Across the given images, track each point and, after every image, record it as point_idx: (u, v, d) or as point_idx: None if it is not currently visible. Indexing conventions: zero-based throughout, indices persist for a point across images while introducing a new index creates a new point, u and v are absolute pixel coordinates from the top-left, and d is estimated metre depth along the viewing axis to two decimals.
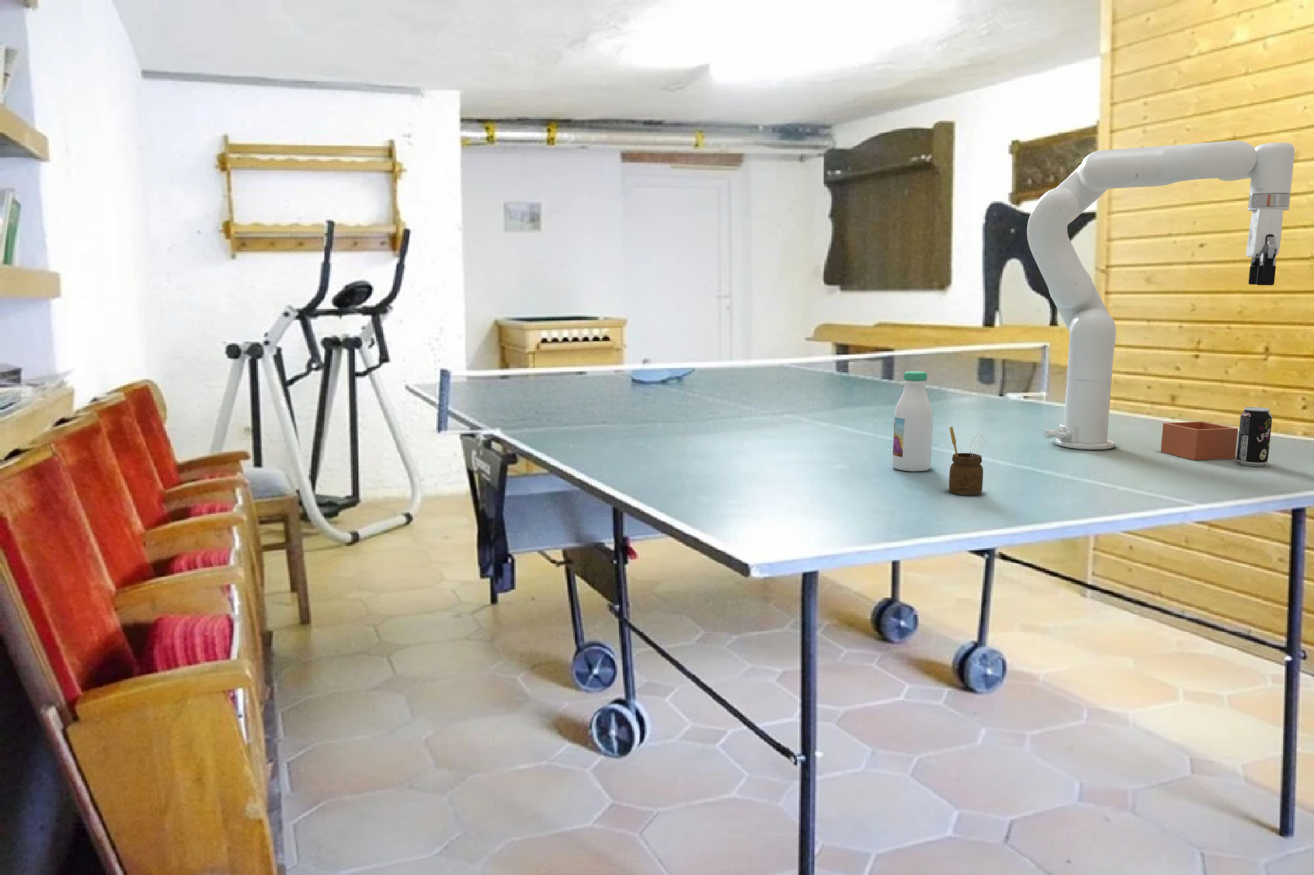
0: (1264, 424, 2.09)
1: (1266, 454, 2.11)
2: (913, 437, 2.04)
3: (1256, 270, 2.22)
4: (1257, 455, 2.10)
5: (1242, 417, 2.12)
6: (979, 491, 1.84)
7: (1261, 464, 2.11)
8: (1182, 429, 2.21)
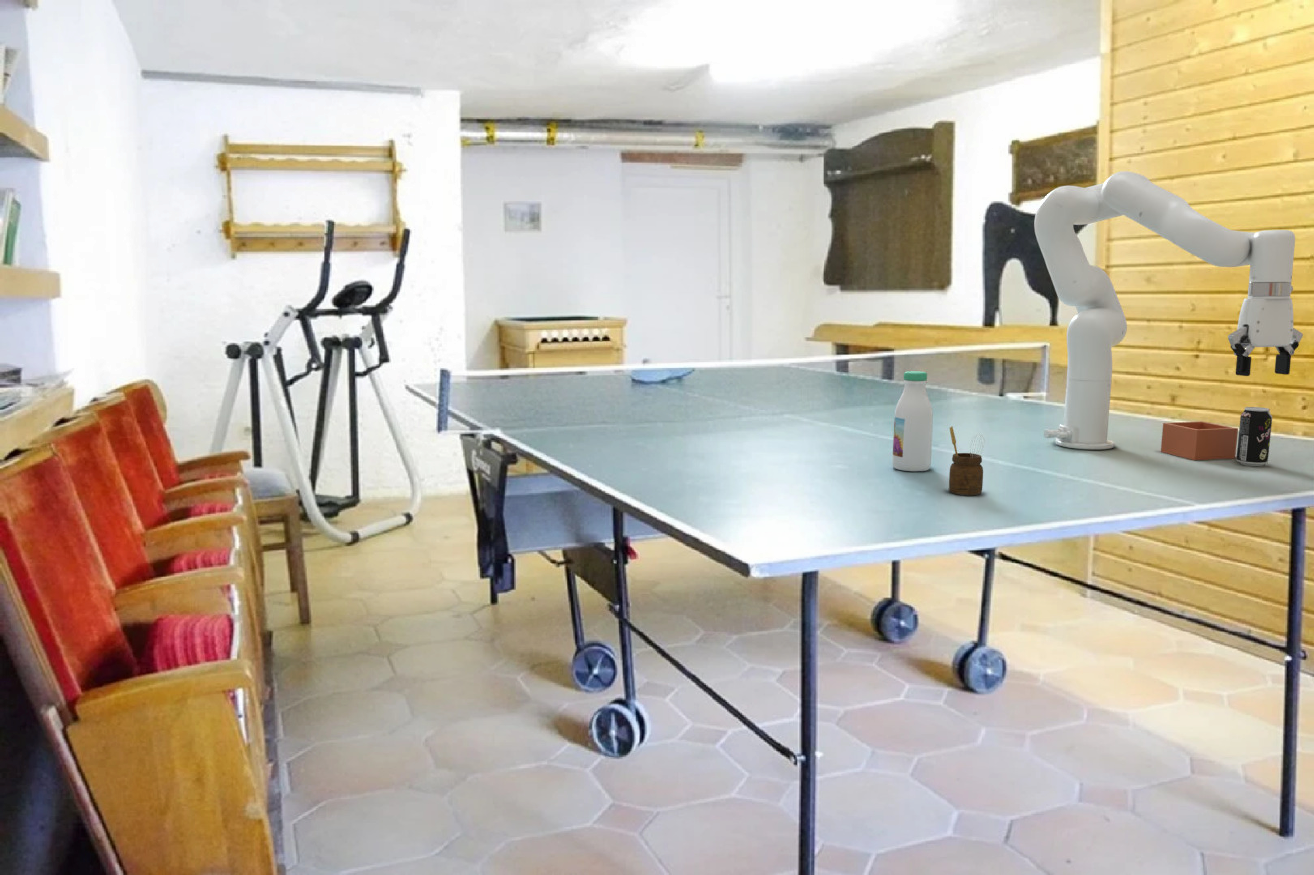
0: (1264, 424, 2.09)
1: (1266, 454, 2.11)
2: (913, 437, 2.04)
3: (1280, 359, 2.11)
4: (1257, 455, 2.10)
5: (1242, 417, 2.12)
6: (979, 491, 1.84)
7: (1261, 464, 2.11)
8: (1182, 429, 2.21)
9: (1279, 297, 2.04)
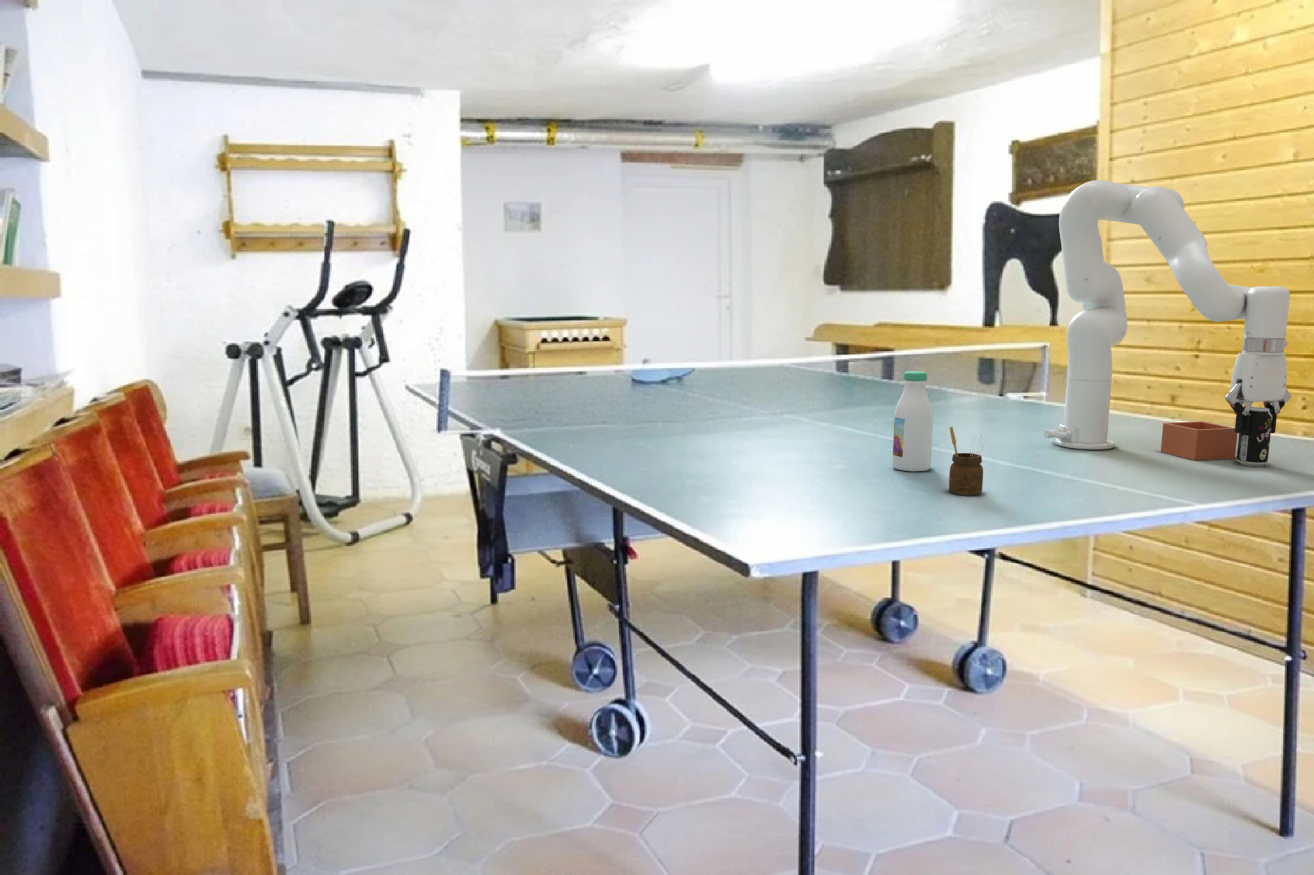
0: (1264, 424, 2.09)
1: (1266, 454, 2.11)
2: (913, 437, 2.04)
3: None
4: (1257, 455, 2.10)
5: None
6: (979, 491, 1.84)
7: (1261, 464, 2.11)
8: (1182, 429, 2.21)
9: (1273, 353, 2.06)
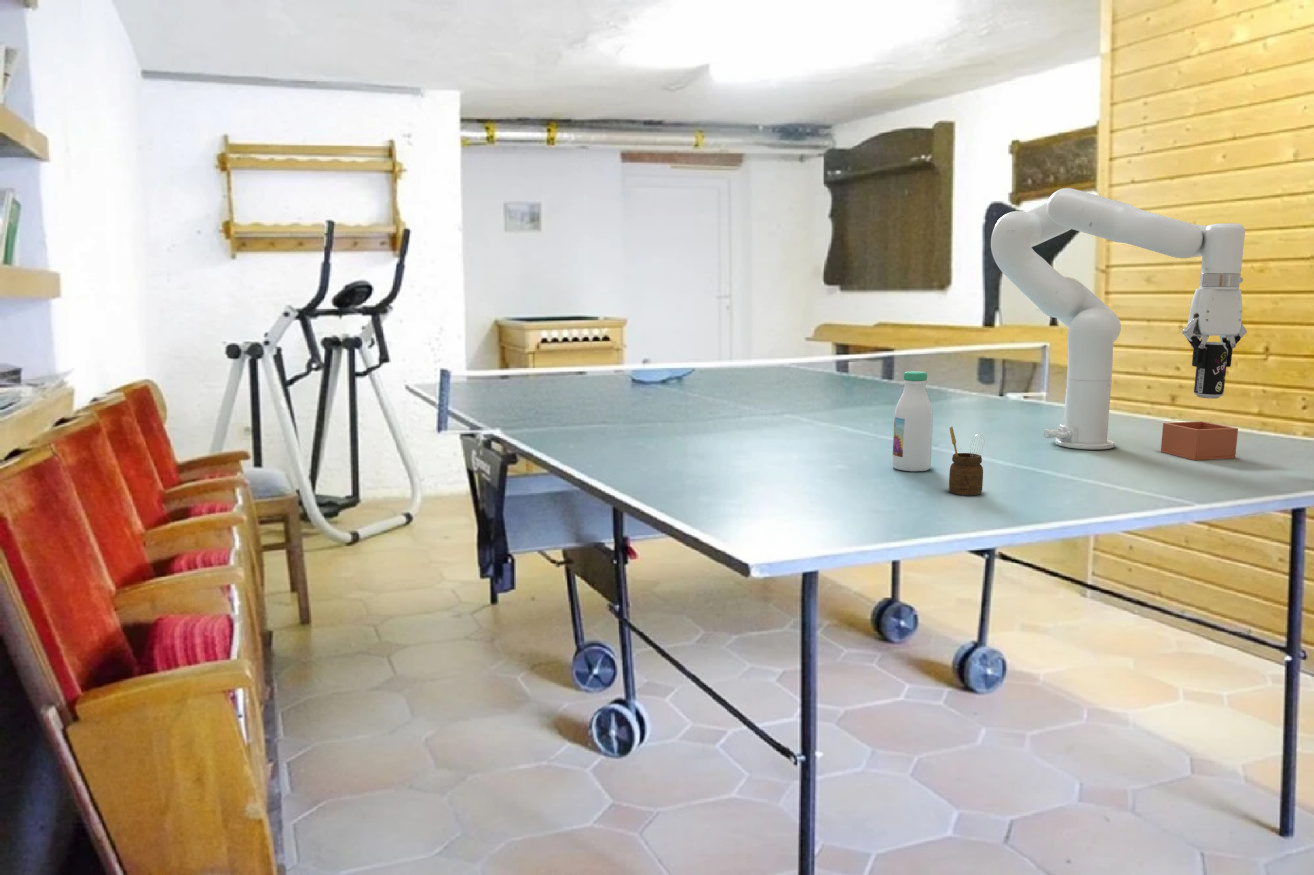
0: (1220, 357, 2.17)
1: (1222, 386, 2.18)
2: (913, 437, 2.04)
3: None
4: (1213, 388, 2.18)
5: None
6: (979, 491, 1.84)
7: (1217, 396, 2.19)
8: (1182, 429, 2.21)
9: (1228, 288, 2.13)
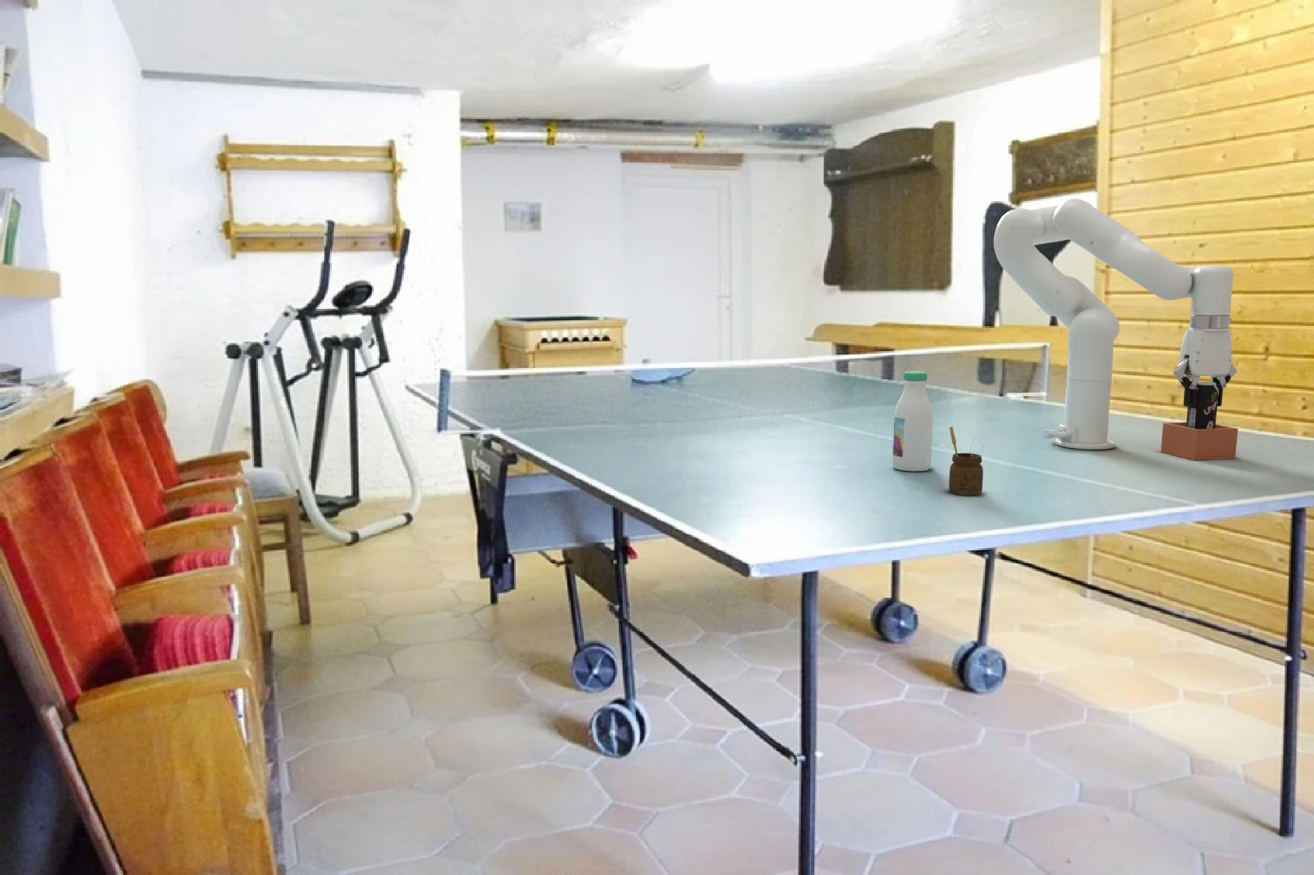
0: (1210, 397, 2.19)
1: (1213, 426, 2.21)
2: (913, 437, 2.04)
3: None
4: (1204, 427, 2.20)
5: None
6: (979, 491, 1.84)
7: None
8: (1182, 429, 2.21)
9: (1217, 329, 2.16)
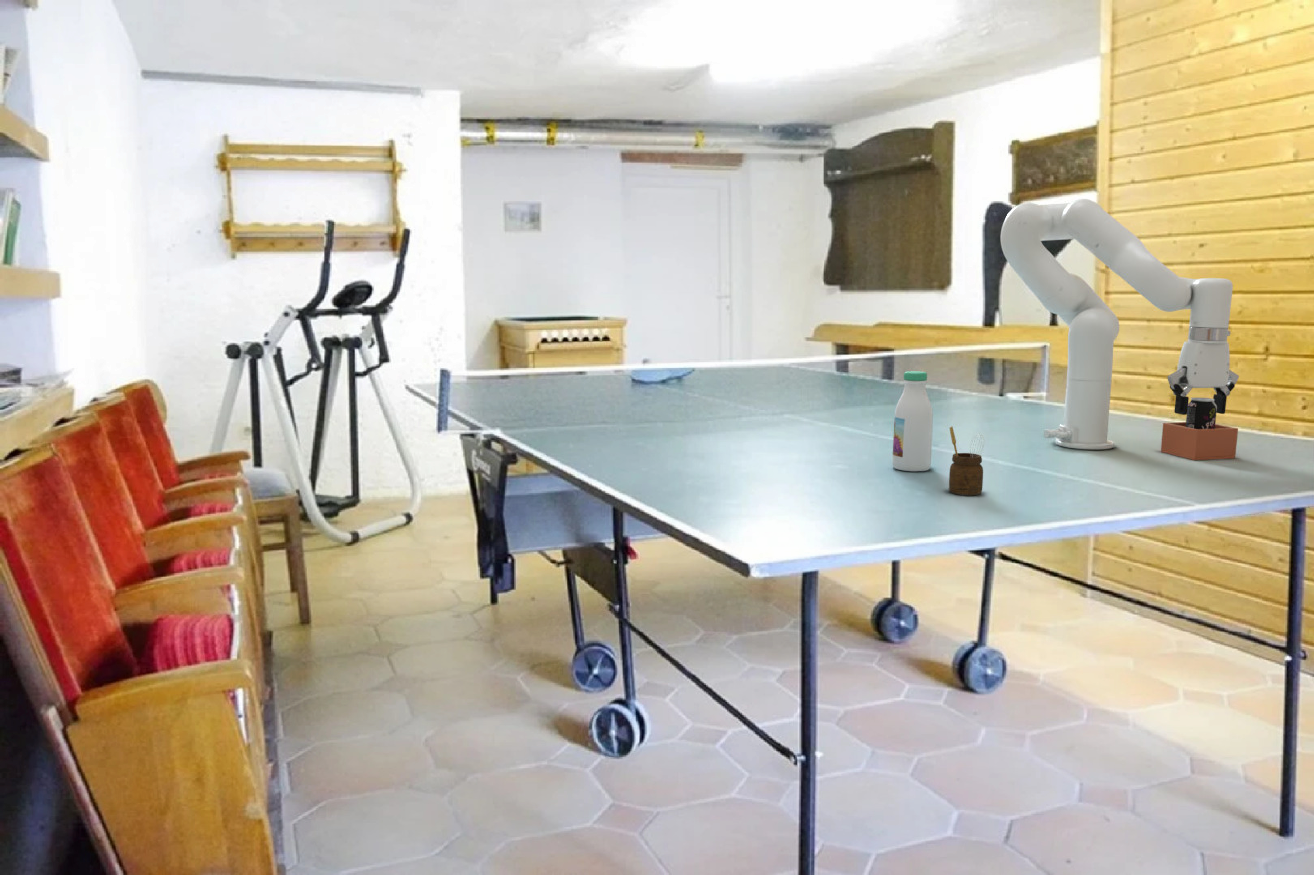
0: (1209, 413, 2.20)
1: None
2: (913, 437, 2.04)
3: (1216, 399, 2.24)
4: None
5: (1188, 407, 2.23)
6: (979, 491, 1.84)
7: None
8: (1182, 429, 2.21)
9: (1216, 342, 2.17)
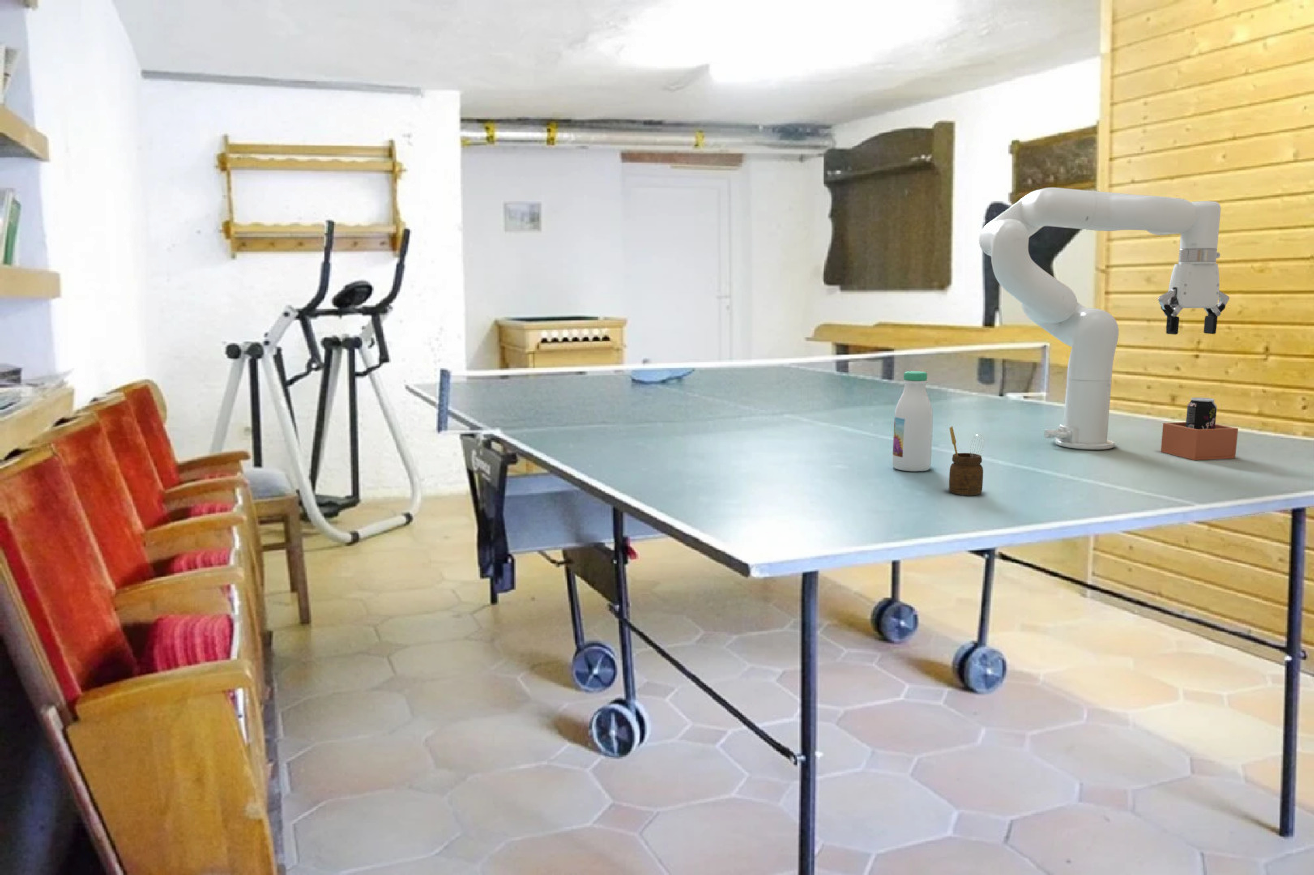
0: (1209, 413, 2.20)
1: None
2: (913, 437, 2.04)
3: (1208, 320, 2.31)
4: None
5: (1188, 407, 2.23)
6: (979, 491, 1.84)
7: None
8: (1182, 429, 2.21)
9: (1204, 262, 2.24)
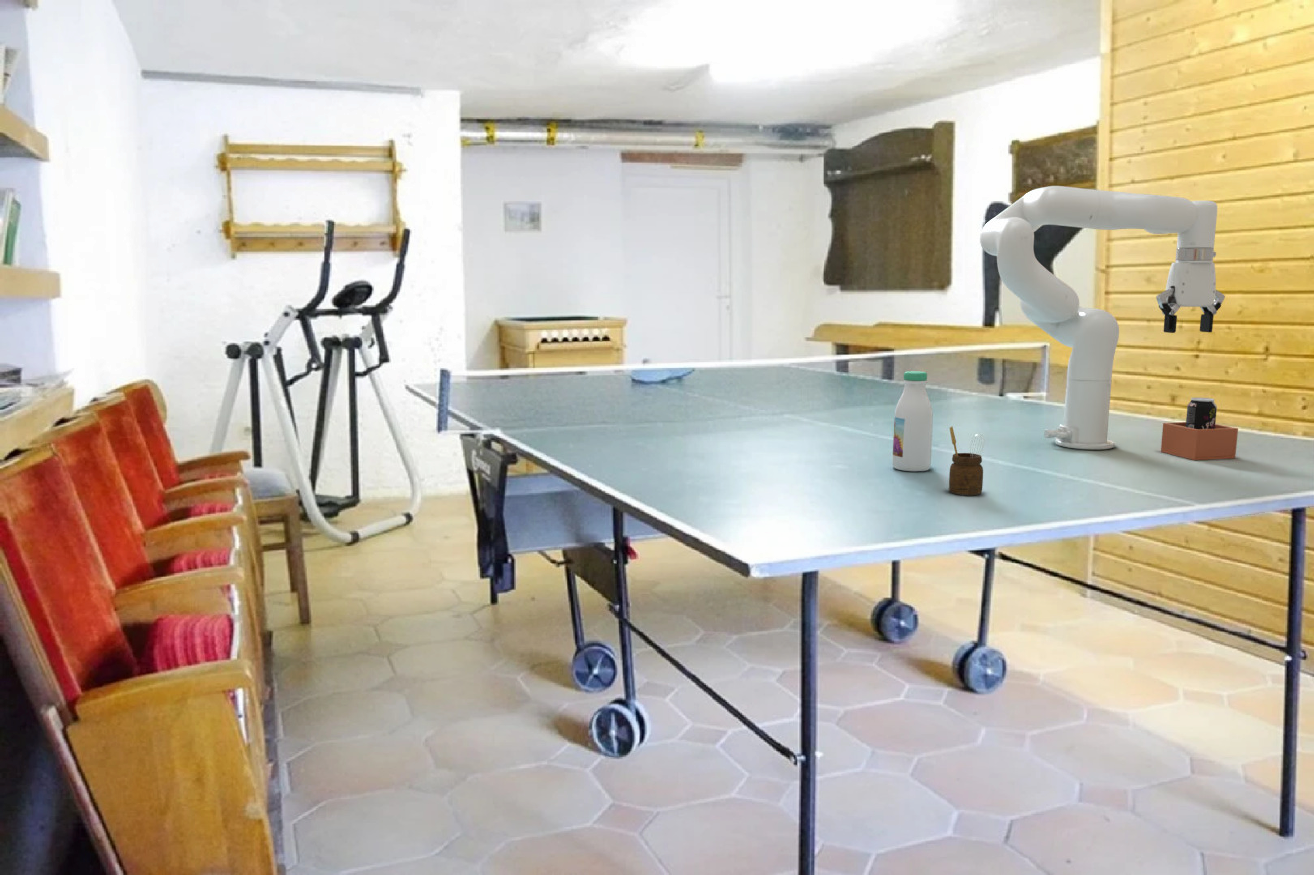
0: (1209, 413, 2.20)
1: None
2: (913, 437, 2.04)
3: (1204, 318, 2.33)
4: None
5: (1188, 407, 2.23)
6: (979, 491, 1.84)
7: None
8: (1182, 429, 2.21)
9: (1202, 261, 2.26)
